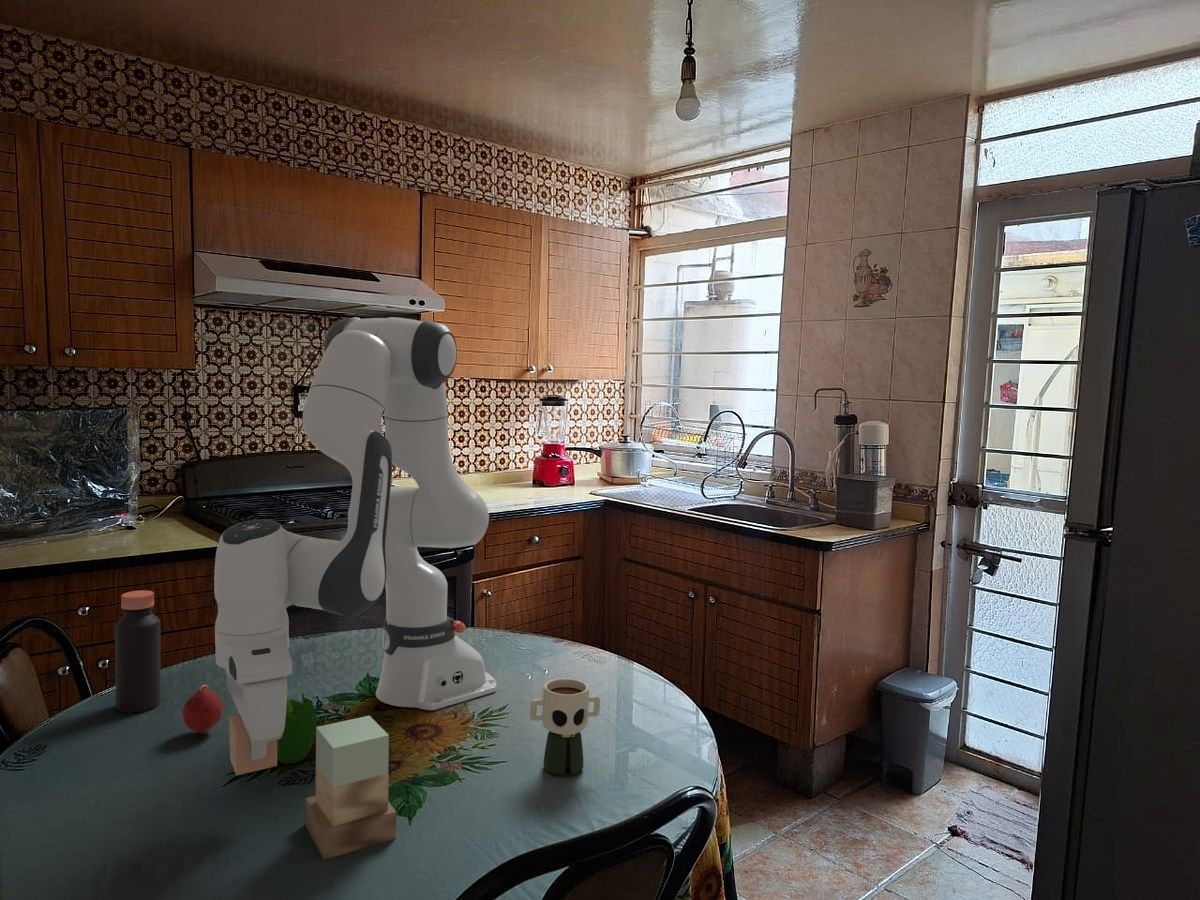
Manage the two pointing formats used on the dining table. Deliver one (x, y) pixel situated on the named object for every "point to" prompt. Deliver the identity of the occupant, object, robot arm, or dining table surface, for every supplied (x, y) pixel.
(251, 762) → the terracotta block
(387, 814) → the walnut slab
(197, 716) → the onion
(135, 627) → the bottle
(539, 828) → the dining table surface
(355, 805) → the oak cube
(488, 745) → the dining table surface
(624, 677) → the dining table surface
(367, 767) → the sage cube
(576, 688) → the character mug
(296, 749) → the bell pepper
